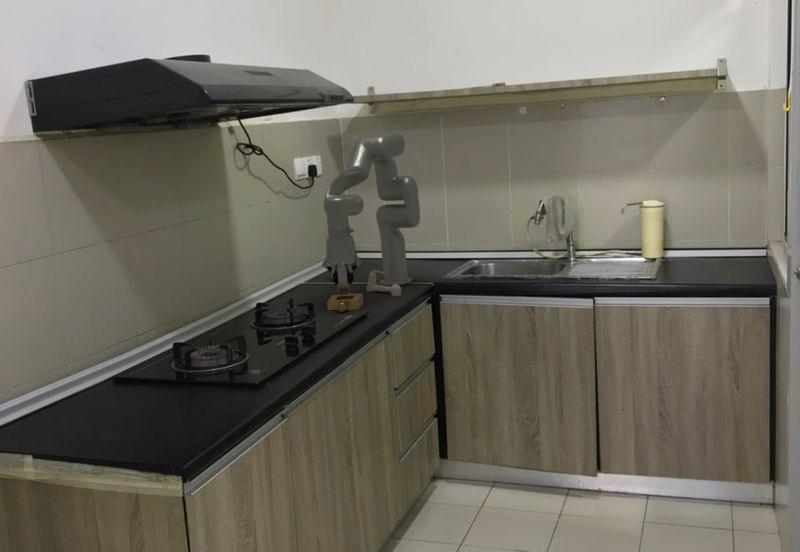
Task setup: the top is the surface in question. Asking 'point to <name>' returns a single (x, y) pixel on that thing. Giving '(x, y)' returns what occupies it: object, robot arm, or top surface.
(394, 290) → the faucet
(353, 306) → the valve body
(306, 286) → the top surface
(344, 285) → the pipe stub
